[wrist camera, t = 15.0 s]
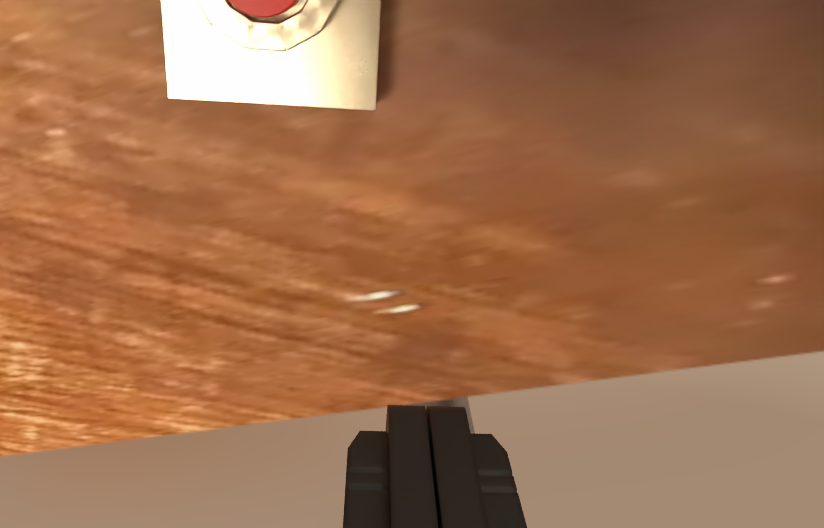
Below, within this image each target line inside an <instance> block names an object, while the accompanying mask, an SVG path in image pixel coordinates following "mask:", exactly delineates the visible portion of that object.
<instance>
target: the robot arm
mask: <svg viewBox="0 0 824 528" xmlns="http://www.w3.org/2000/svg"><path fill="white" fill-rule="evenodd" d="M343 520H344V521H343V528H527V526H526V522H525V518H524V515H523V511H522V507H521V503H520V499H519V496H518V493H517V488H516V484H515V481H514V477H513V476H512V470H511V466H510V462H509V458H508V454H507V452H506V451H505V449H504V448H503V447H502V446H501V445H500V444H499V443H498V441H497V440H496V439H495V438H494V437H493V436H492V434H470V429H469V424H468V419H467V414H466V410H465V408H464V407H442V406H427V409H425V406H403V405H388V407H387V420H386V432H385V431H384V432H383V431H360V432H359V433H358V435H357V436H356V438H355V439H354V440H353V442H352V443H351V445H350V446H349V447H348V456H347V472H346V488H345V504H344V519H343Z"/></svg>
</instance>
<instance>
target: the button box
mask: <svg viewBox="0 0 824 528" xmlns="http://www.w3.org/2000/svg"><path fill="white" fill-rule="evenodd" d="M160 4H161V18H162V32H163V45H164V59H165V73H166V86H167V98H168V99H178V100H195V101H212V102H228V103H245V104H262V105H279V106H296V107H313V108H330V109H347V110H364V111H376V104H377V83H378V61H379V40H380V18H381V0H299V2H298V3H297V4H296V5H295V6H294V7H292V8H291V9H289V10H288V11H286V12H284V13H282V14H280V15H277V16H274V17H268V18H260V17H254V16H250V15H248V14H245V13H243V12H242V11H240V10H238V9H237V8H236V7H234V6H233V5H232V4H231V3H230V2H229V0H160Z"/></svg>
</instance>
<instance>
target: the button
mask: <svg viewBox="0 0 824 528" xmlns="http://www.w3.org/2000/svg"><path fill="white" fill-rule="evenodd" d="M229 2H230V3H231V4H232V5H233V6H234V7H236V8H237V9H238V10H240V11H242V12H243V13H245V14H248V15H250V16H254V17H260V18H268V17H274V16H277V15H280V14H282V13H284V12H286V11H288V10H289V9H291V8H292V7H294V6H295V5H296V4H297V3H298V2H299V0H229Z"/></svg>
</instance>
